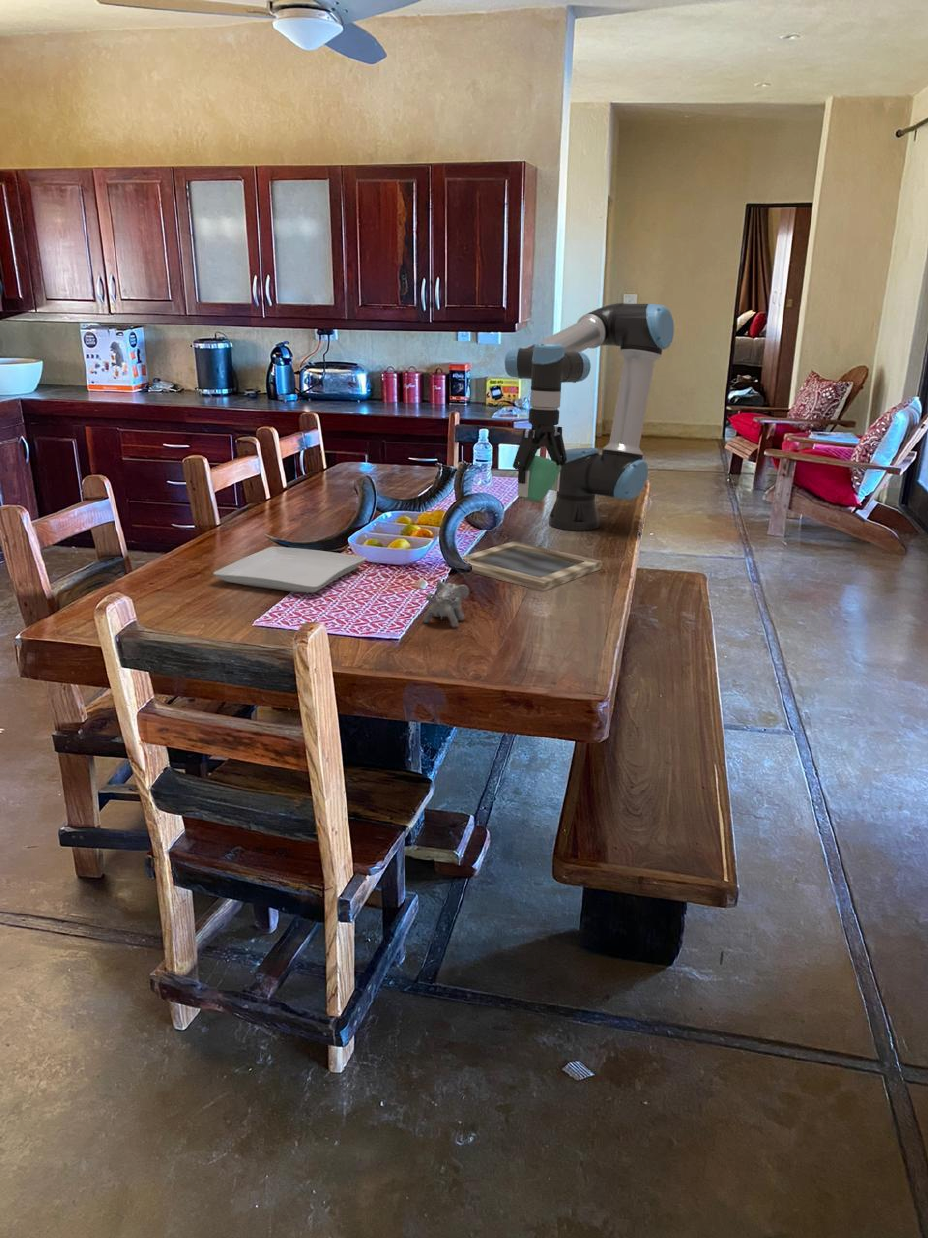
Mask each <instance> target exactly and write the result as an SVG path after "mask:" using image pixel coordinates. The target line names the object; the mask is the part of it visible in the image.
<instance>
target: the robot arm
mask: <svg viewBox="0 0 928 1238" xmlns="http://www.w3.org/2000/svg"><path fill="white" fill-rule="evenodd" d="M674 325H675V324H674V319H673V316H672V313H671V311H670V309H669V308H668V307H667V306H665V305H663V304H655V303H625V302H623V303H621V302H618V303H611V304H608V305H605V306H602V307H599V308H596V309H595V310H592V311H590V312H587V313H585V314H583V315H582V316H581V317H579V319H577V322H576V323H573V324H572V325H570V326H568V327H566V328H563V329H562V330H560V331H558V332H557V333H554V334H552V335H550V336H548V337H546V338H544V339H542V340H540V341H538V342H536V343H534V344H533V345H530V346H528V347H525V348H522V347H515V348H514V347H513V348H511V349H509V350H508V351H507V352H506V355H505V358H504V370H505V372H506V374H507V375H508V376H509V377H512V378H516V379H517V378H518V379H519V380H523V379H524V380H531V384H530V397H529V406H530V407H531V408H529V410H528V424H529V425H531V429H528V428H523V429H522V435H521V440H520V442H519V446H518V450H517V452H516V453H515V454H516V455H515V458H514V460H513V463H512V467H513V469H514V470H517V471H518V473H517V496H518V497H522V498H523V497H528V488H529V473H530V471H527V469H528V468H529V466H530V464H531V462H532V460H533V458H534V456H536V454H537V452H538V450H541V448H543V447H545V449H546V451H547V454H548V455H549V458H550V460H552V461H554V462H556V469H557V467H558V465H561V470H560V472H559V474H558V476H557V478H556V480H555V482H554V484H553V485H552V487H551V488H550V490H549V491H554V492H556V497H555V501H554V503H553V506H552V509H551V512H550V514H549V517H548V524H549V526H551V527H553V528H555V529H561V530H566V531H576V532H579V531H582V532H583V531H591V530H595V529H598V528H599V527H600V518H599V517H600V516H599V513H598V509H597V505H596V496H603V497H608V498H613V499H615V500H616V499H617V500H627V501H628V500H633V499H635V498H637V497H638V496H639V494H640V493H641V492H643V489H644V487H645V485H646V482H647V479H648V474H649V470H648V464H647V462H646V461H644V460H643V457H644V453H643V452H642V450H641V448H640V443H641V439H642V434H643V433H642V432H643V429H644V428H643V427H644V422H645V417H646V411H647V406H648V405H647V404H648V401H649V395H650V390H651V389H650V388H651V383H652V378H653V373H654V372H653V371H654V367H655V363H656V361H658V360H659V359H660V358H662V353H663V350H664V351H665V350H666V349H668V348H670V346H671V344H672V342H673V338H674V335H675V334H674V333H675V332H674V331H675V327H674ZM601 346H614V347H620V349H619V352H620V354H621V355H622V357H623V362H622V367H621V368H622V369H621V374H620V379H619V386H618V390H617V391H618V393H617V397H616V402H615V409H614V413H613V419H612V420H613V421H612V426H611V430H610V436H609V437H610V438H609V441H608V443H607V444H606V445H605V446H604V447H603V448H602V451H601V454H600V450H599V448H598V447H579V448H578V447H577V448H568V449H565V443H564V438H563V427H562V426H557V425H559V423H560V422H559V421H560V420H559V419H560V411H559V409H558V408H560V407H561V399H562V398H561V395H562V394H561V393H562V392H561V391H562V384H563V383H564V384H565V383H573V384H576V383H578V382H583V381H584V380H585V379H587V377H588V376H589V375H590V372H591V360H590V359H589V357H588V356H587V355H586V353H584V351H585V350H588V349H596V348H598V347H601ZM524 465H525V466H524Z"/></svg>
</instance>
